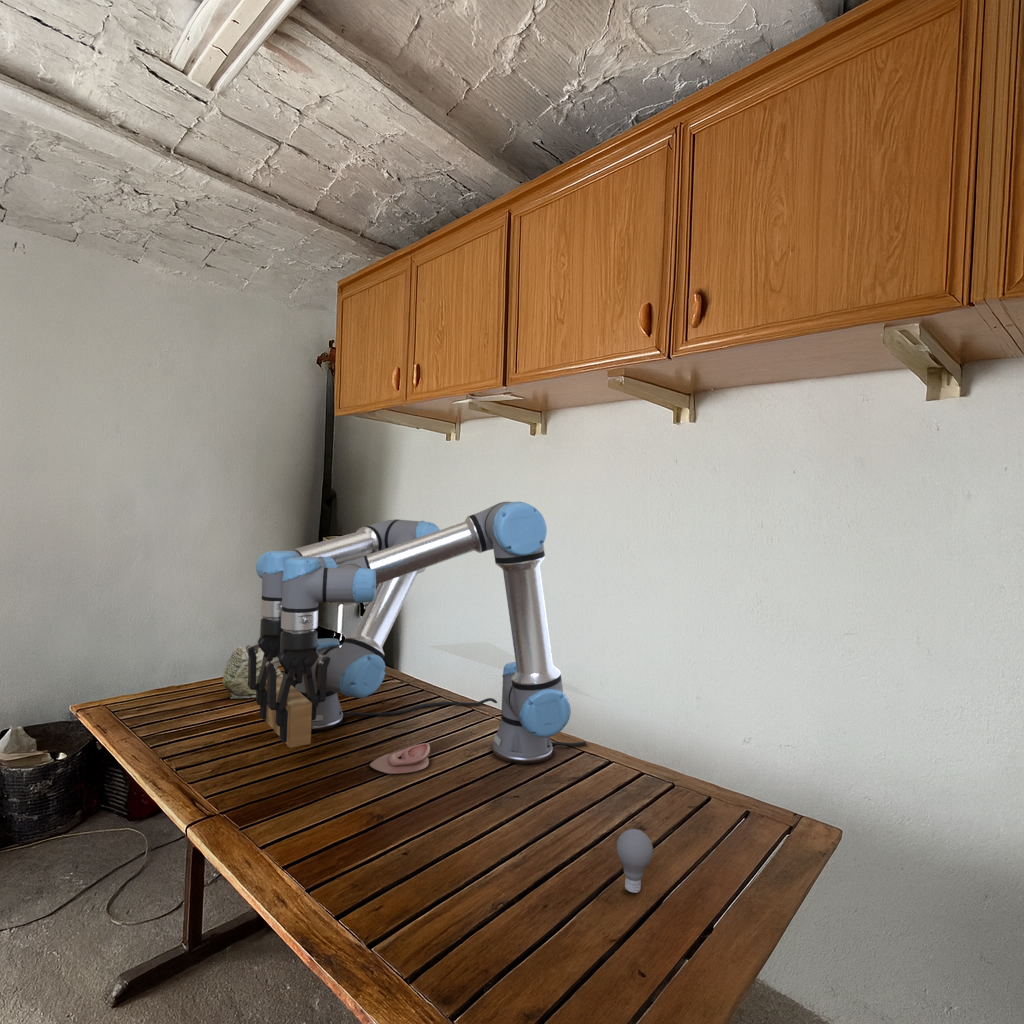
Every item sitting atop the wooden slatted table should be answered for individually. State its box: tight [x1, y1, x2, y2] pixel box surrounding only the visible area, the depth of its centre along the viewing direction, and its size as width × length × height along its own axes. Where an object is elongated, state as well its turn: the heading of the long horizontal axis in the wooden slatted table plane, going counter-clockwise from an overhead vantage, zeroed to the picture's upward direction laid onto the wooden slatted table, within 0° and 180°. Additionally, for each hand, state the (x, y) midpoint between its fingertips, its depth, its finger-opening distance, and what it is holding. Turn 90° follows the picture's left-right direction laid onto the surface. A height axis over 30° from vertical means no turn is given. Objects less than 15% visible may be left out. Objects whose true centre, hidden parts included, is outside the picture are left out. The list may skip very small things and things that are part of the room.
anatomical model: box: [369, 742, 431, 775], centre depth 151 cm, size 13×4×12 cm
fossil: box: [222, 646, 283, 699], centre depth 198 cm, size 9×18×15 cm, turn 132°
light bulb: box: [615, 828, 654, 894], centre depth 106 cm, size 6×6×10 cm
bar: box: [264, 676, 312, 748], centre depth 142 cm, size 22×4×9 cm, turn 36°
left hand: (274, 715), depth 149 cm, fingers closed on bar, 4 cm apart
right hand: (295, 737), depth 136 cm, fingers closed on bar, 4 cm apart
